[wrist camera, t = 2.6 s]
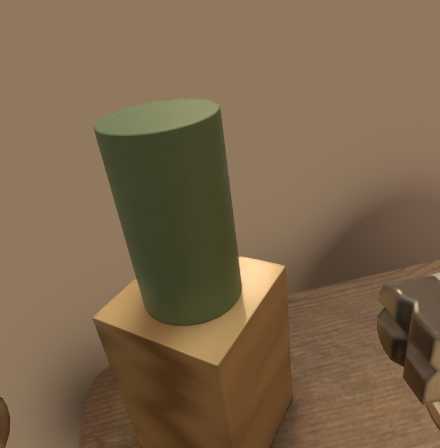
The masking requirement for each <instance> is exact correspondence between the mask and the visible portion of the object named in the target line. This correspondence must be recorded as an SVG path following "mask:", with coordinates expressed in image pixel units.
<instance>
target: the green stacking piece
mask: <svg viewBox="0 0 440 448" xmlns="http://www.w3.org/2000/svg"><path fill="white" fill-rule="evenodd" d="M94 131H95V134H96V138H97V141H98V145H99V148H100V152H101V155H102V159H103V162H104V166H105V169H106V173H107V177H108V180H109V183H110V187H111V191H112V194H113V197H114V201H115V205H116V208H117V211H118V215H119V219H120V222H121V225H122V229H123V233H124V236H125V239H126V243H127V247H128V250H129V253H130V257H131V261H132V264H133V268H134V271H135V275H136V278H137V282H138V285H139V289H140V292H141V296H142V299H143V303H144V306H145V308H146V310H147V312H148V313H149V314H150V315H151V316H152V317H153V318H155V319H157V320H158V321H161V322H163V323H167V324H171V325H181V326H184V325H195V324H200V323H204V322H207V321H210V320H212V319H215V318H217V317H219V316H220V315H222V314H224V313H225V312H226V311H228V310H229V309H230V308H231V307H232V306H233V305H234V304H235V303H236V301H237V300H238V298H239V296H240V294H241V290H242V282H241V274H240V265H239V257H238V250H237V241H236V233H235V225H234V216H233V208H232V201H231V192H230V184H229V176H228V167H227V160H226V151H225V143H224V135H223V127H222V119H221V110H220V106H219V105H218V103H216V102H214V101H210V100H204V99H174V100H164V101H158V102H152V103H146V104H142V105H137V106H133V107H130V108H126V109H123V110H120V111H117V112H114V113H112V114H109V115H107V116H106V117H103V118H102V119H100V120H99V121H98V122H96V124H95V125H94Z"/></svg>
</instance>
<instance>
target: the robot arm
mask: <svg viewBox="0 0 440 448" xmlns="http://www.w3.org/2000/svg"><path fill="white" fill-rule="evenodd" d="M379 301H380V302H381V304H382V305H383V306H384V309H383V310H382V312H381V313H380V314H379V315H378V318H377V330H378V335H379V339H380V342H381V344H382V346H383V348H384V350H385V352H386V353H387V355H388V356H389V358H390V359H391V360H392V361H394V362H396V363H398V364H399V365H401V366H403V367H404V372H403V378H404V379H405V381H406V382H407V384H408V385H409V387H410V388H411V389H412V391H413V392H414V394H415V395H416V396H417V398H418V399H419V401H420V402H421V403H422V405H424V404H429V403H434V402H439V401H440V273H436V274H431V275H428V276H424V277H419V278H415V279H410V280H405V281H401V282H396V283H392V284H387V285H383V287H382V288H381V290H380V296H379ZM9 430H10V415H9V411H8V408H7V405H6V403H5V402H4V400H3V398H1V397H0V448H5V446H6V443H7V440H8V436H9V432H10V431H9Z"/></svg>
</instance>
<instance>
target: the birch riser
mask: <svg viewBox="0 0 440 448" xmlns="http://www.w3.org/2000/svg"><path fill="white" fill-rule="evenodd" d="M238 257H239V265H240V274H241V282H242V290H241V294H240V296H239V298H238V300H237V301H236V303H235V304H234V305H233V306H232V307H231V308H230V309H229V310H228V311H226V312H225V313H224V314H222V315H220V316H219V317H217V318H215V319H212V320H210V321H207V322H204V323H200V324H195V325H184V326H181V325H171V324H167V323H163V322H161V321H158V320H157V319H155V318H153V317H152V316H151V315H150V314H149V313H148V312H147V310H146V308H145V306H144V303H143V299H142V296H141V292H140V289H139V285H138V282H137V278H136V279H135V280H134V281H132V282H131V283H130V284H129V285H128V286H127V287H126V288H125V289H124V290H122V291H121V292H120V293H119V294H118V295H117V296H116V297H115V298H113V299H112V300H111V301H110V302H109V303H108V304H107V305H106V306H105V307H103V308H102V309H101V310H100V311H99V312H98V313H97V314H96V315H94V316H93V317H92V318H93V321H94V324H95V326H96V329H97V332H98V334H99V337H100V340H101V342H102V345H103V348H104V350H105V353H106V356H107V358H108V361H109V364H110V366H111V369H112V372H113V374H114V377H115V380H116V382H117V385H118V388H119V390H120V393H121V396H122V398H123V401H124V403H125V406H126V409H127V411H128V414H129V417H130V419H131V422H132V425H133V427H134V430H135V433H136V435H137V438H138V441H139V443H140V446H141V447H142V448H269V447H270V445H271V443H272V441H273V439H274V437H275V434H276V432H277V430H278V428H279V426H280V424H281V421H282V419H283V417H284V415H285V413H286V410H287V408H288V406H289V404H290V402H291V400H292V381H291V362H290V343H289V324H288V305H287V286H286V269H285V268H286V267H285V266H283V265H279V264H274V263H270V262H265V261H260V260H256V259H251V258H247V257H242V256H238Z"/></svg>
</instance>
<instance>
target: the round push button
mask: <svg viewBox="0 0 440 448" xmlns="http://www.w3.org/2000/svg"><path fill="white" fill-rule="evenodd" d="M427 406H428V409H429V411H430V413H431V416H432V417H433V419H434V421H435V422H436V424H437V425H438V427H439V428H440V401H439V402H434V403H429V404H427Z"/></svg>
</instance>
